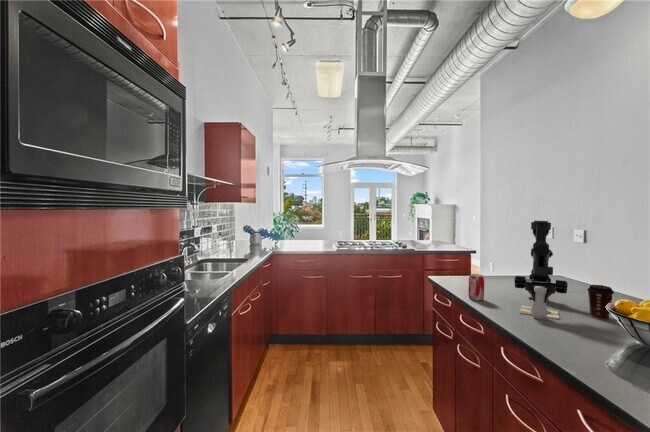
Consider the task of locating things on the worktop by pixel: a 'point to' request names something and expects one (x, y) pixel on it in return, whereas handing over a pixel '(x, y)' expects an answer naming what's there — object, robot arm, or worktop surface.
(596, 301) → the coffee cup
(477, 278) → the soda can
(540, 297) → the salt shaker
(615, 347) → the worktop surface
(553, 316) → the board
